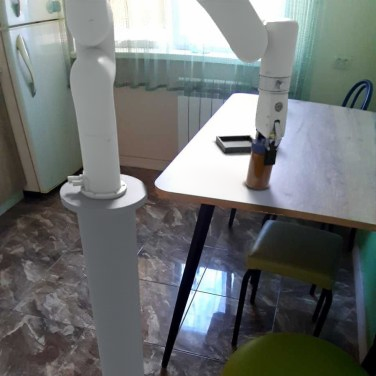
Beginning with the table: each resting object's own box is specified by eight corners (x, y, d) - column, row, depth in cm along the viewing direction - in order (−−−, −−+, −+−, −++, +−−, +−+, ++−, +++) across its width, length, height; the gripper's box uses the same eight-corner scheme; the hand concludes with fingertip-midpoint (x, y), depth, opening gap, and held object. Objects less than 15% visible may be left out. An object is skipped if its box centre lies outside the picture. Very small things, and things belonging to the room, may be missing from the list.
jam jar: (249, 189, 112) (257, 149, 104) (242, 180, 116) (249, 140, 109) (271, 189, 113) (280, 149, 106) (263, 179, 118) (271, 141, 110)
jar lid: (280, 154, 106) (282, 147, 105) (255, 154, 105) (257, 146, 104) (271, 145, 111) (273, 138, 110) (247, 145, 110) (248, 137, 109)
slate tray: (224, 153, 132) (225, 147, 131) (215, 141, 140) (216, 136, 139) (260, 151, 135) (261, 146, 133) (249, 140, 142) (250, 134, 141)
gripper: (303, 91, 92) (289, 171, 104) (275, 75, 105) (266, 148, 117) (272, 93, 91) (261, 173, 103) (247, 76, 104) (241, 149, 116)
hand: (264, 159), depth 110 cm, fingers closed on jar lid, 6 cm apart
